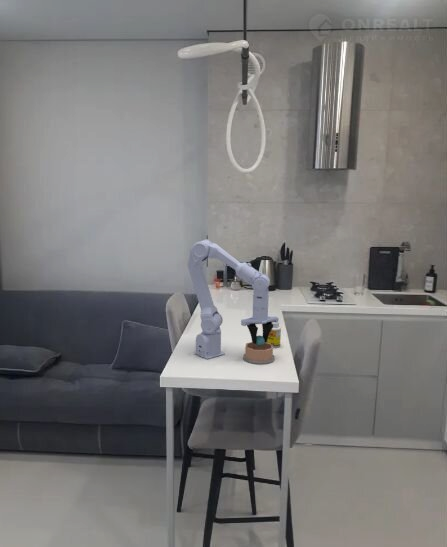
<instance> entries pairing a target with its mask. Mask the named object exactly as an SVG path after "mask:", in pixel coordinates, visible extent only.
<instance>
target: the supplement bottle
mask: <svg viewBox="0 0 447 547" xmlns="http://www.w3.org/2000/svg"><path fill="white" fill-rule="evenodd" d="M272 324H273V328H272V330H271V331H270V333H269V336H268V339H267V343H269V344H272V345H273V349H274V348H275V349H276V348H279V347H280V345H281V336H282V335H281V334H282V333H281V332H282V329H281V328H282V327H281V325H280V321H278V323H275V322H274V323H272Z"/></svg>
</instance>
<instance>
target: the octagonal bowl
mask: <svg viewBox="0 0 447 547" xmlns="http://www.w3.org/2000/svg"><path fill="white" fill-rule="evenodd" d="M244 348H245V351H244V352H245V353H244V354H243V355H242V360H243V361H245V363H249V364H253V365H268V364H271V363H274V362H275V360H276V356H275V355H274V351H273V350H274V348H273V345H272V344H269V343H267V342H266V343H264V344H263V345H262V346H257V345H256V344H254V343H252V341H251V342H246V343H245V347H244Z"/></svg>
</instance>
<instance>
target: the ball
mask: <svg viewBox="0 0 447 547" xmlns="http://www.w3.org/2000/svg"><path fill="white" fill-rule="evenodd" d="M264 343H265V339H264V337H263V335H257V341H256V345H257V346H262V345H263V344H264Z"/></svg>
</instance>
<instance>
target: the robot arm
mask: <svg viewBox="0 0 447 547" xmlns="http://www.w3.org/2000/svg"><path fill="white" fill-rule="evenodd" d="M207 259H218V260H219V261H220V262H222V263H223V264H225V265H227V266H229V267H230V268H232V269H233V270H234V271H235V275H236V276H237V277H239V278H240V279H241V280H243V281H244V282H246V283H247V284H248V285H251V287H252V290H253V294H252V317H249V318H244V319H240V322H241V323H240V325H241V326H243V327H247V329H248V331H249V334H250V337H251V338H250V339H251V342H252V343H254V344H256V341H257V336H258V331H259V327H258V326H257V325H261V326H262V327H261V328H262V336H263V337H264V339H265V343H266V342H267V339H268V336H269V333H270V331H271V330H272V328H273V324H272V323H274V322H275V323H278V322H279V320H280V319H279V316H269V296H270V295H269V286H270V285H271V280H270V278H269V276H268V275H267V274H265V273H263V272H262V271H259V270H257V269H255V267H253V266H252V264H251V263H250V262H248V263H247V262H244V261H243V262H240V261H239V260H238V259H236V258H235V257H234V256H233V255H230V253H228V252H227V251H226V250H224V248H222V247H220V246H219V245H218V243H216V242H212V241H211V239H207V238H205V239H202V240H200V241H196V242H195V243H193V245H192V246H191V248H190V249H189V257H188V261H187V268H188V272H189V274H190V275H189V276H190V279H191V282H192V285H193V289H194V291H195V294H196V297H197V301H198V304H199V307H200V320H201V322H200V327H201V330H202V332H200V333H199V334H197V335H196V337H195V351H194V354H195V355H198V356H199V357H202V358H203V359H205V360H209V359H213V358H216V357H219V356H224V355H226V352H225V351H222V349H221V348H222V346H221V345H222V329H221V327H220V326H222V324H223V321H224V320H223V316H222V314H220V312H219V310H218V307H216V306H215V304H214V300H213V298H212V294H211V290H210V287H209V285H208V281H207V278H206V274H205V271H204V269H203V265H204V263H205V262H206V261H207Z"/></svg>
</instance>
